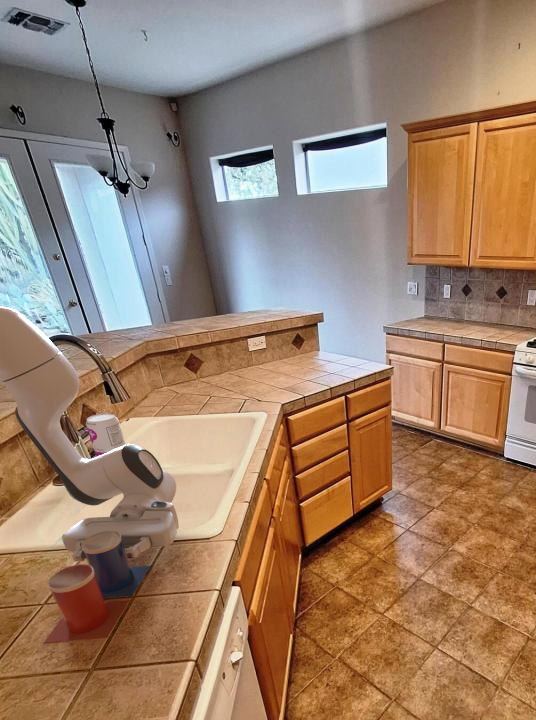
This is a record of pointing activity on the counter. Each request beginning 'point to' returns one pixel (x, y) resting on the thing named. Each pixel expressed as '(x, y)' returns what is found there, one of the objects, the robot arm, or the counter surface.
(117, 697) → the counter surface
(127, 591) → the slate-blue mat
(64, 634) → the terracotta mat
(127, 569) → the blue tumbler
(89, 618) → the red tumbler
